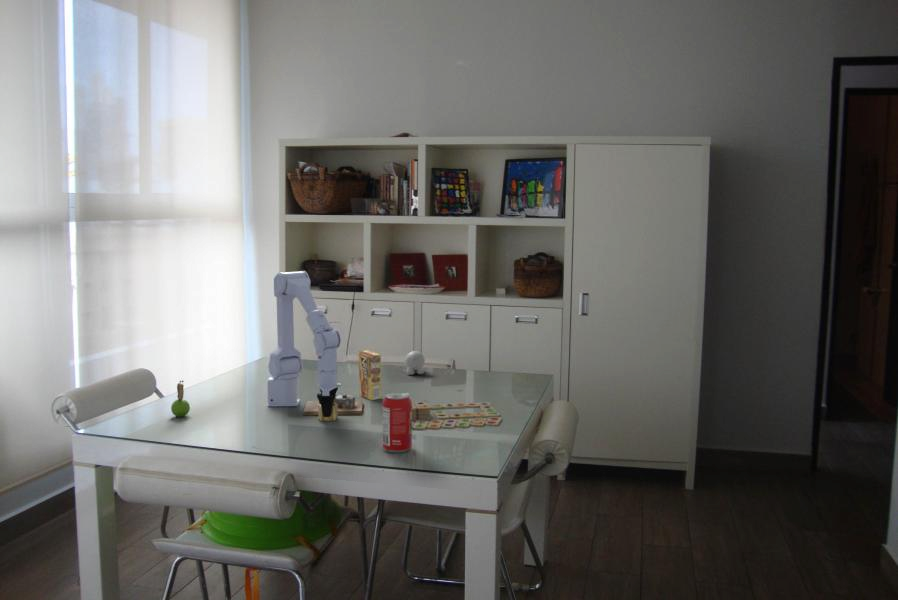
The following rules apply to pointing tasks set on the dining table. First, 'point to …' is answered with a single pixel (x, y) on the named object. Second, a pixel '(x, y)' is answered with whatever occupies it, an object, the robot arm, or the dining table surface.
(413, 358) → the chubby cartoon animal
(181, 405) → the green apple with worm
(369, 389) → the candy box
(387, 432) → the soda can
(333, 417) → the brass gear
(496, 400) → the dining table surface
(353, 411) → the gear board
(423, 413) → the pile of dominoes
